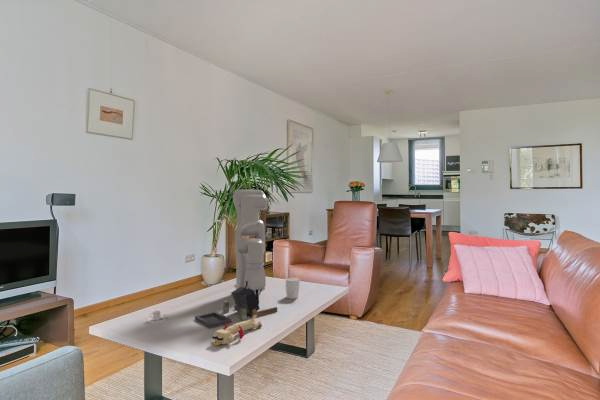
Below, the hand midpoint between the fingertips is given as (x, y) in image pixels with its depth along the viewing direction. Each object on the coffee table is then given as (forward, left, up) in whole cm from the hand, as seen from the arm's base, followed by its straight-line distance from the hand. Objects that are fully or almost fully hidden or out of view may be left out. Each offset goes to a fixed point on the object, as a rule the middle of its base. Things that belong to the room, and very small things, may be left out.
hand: (255, 303), depth 172 cm
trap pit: (-1, -22, -4) cm, 23 cm away
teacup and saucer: (-16, -39, -4) cm, 43 cm away
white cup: (-7, +30, -4) cm, 31 cm away
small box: (0, -3, -3) cm, 4 cm away
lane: (-1, -2, -4) cm, 4 cm away
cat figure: (+21, -23, -4) cm, 31 cm away
